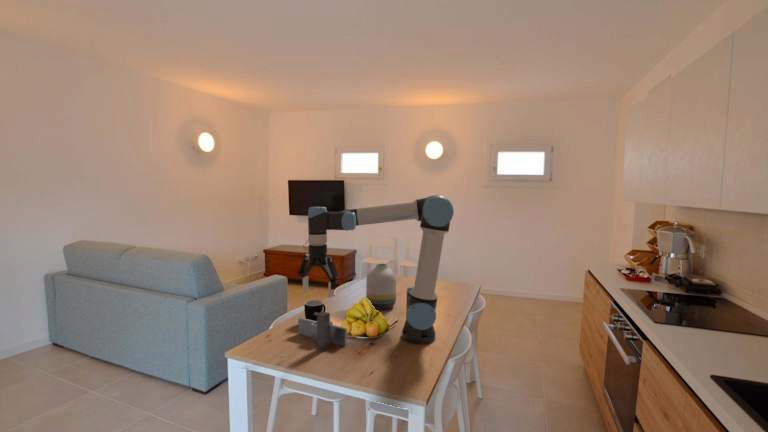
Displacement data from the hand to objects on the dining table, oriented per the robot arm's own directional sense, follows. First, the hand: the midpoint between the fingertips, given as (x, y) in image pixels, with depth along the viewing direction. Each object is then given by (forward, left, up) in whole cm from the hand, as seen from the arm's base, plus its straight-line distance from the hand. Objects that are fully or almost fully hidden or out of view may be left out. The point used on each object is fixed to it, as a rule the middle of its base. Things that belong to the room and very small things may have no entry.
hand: (318, 294), depth 150 cm
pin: (-4, +1, -22) cm, 23 cm away
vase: (0, -58, -22) cm, 62 cm away
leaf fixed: (-3, -6, -22) cm, 23 cm away
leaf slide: (+7, -6, -22) cm, 24 cm away
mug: (+17, -21, -22) cm, 35 cm away
